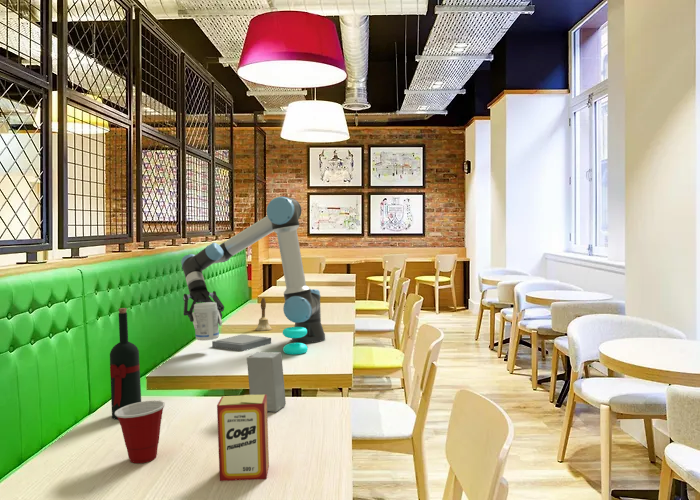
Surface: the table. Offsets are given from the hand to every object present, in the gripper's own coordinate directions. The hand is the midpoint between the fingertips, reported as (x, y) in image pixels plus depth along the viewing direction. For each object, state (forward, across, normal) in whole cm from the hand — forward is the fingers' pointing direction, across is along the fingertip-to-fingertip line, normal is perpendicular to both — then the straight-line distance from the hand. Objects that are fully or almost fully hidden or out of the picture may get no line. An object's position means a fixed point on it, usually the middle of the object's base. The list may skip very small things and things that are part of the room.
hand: (208, 325), depth 246 cm
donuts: (+22, -30, +4) cm, 38 cm away
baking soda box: (+96, +28, +78) cm, 127 cm away
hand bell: (-21, -40, -38) cm, 59 cm away
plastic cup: (+81, +45, +64) cm, 113 cm away
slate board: (+2, -17, -15) cm, 23 cm away
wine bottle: (+57, +43, +40) cm, 82 cm away
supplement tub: (+2, 0, -7) cm, 7 cm away
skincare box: (+68, +8, +50) cm, 85 cm away
